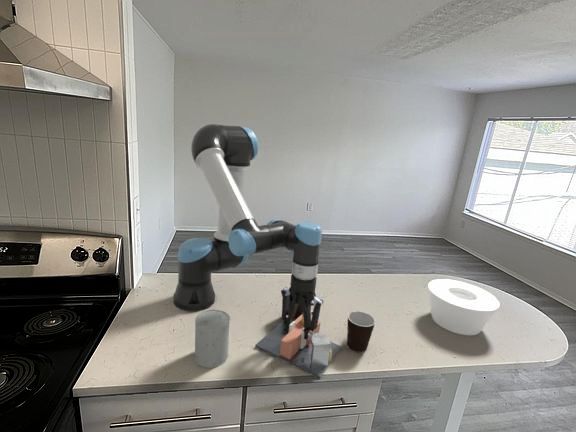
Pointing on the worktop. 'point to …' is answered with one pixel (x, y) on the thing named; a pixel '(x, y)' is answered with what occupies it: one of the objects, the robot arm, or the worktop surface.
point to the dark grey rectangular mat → (301, 357)
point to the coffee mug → (359, 330)
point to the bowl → (461, 306)
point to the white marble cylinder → (211, 338)
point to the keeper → (320, 349)
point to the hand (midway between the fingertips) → (296, 343)
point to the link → (295, 339)
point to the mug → (298, 309)
